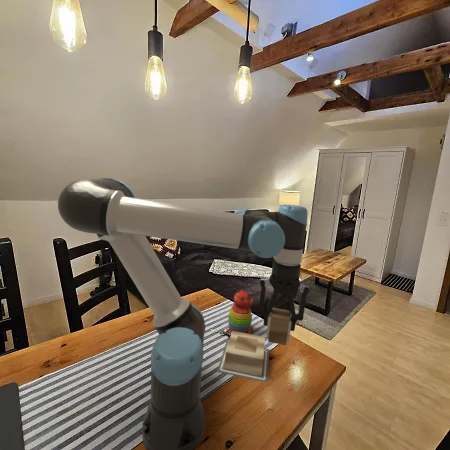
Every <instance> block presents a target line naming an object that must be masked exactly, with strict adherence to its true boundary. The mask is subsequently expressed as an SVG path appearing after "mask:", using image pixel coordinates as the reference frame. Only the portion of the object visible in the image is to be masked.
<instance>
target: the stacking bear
mask: <svg viewBox="0 0 450 450" xmlns="http://www.w3.org/2000/svg"><path fill="white" fill-rule="evenodd" d="M253 302H254V301H253V298H252V297H251V296H250V294H249V293H247V291H244V290H243V289H240V291H238V292H236V293H235V294H234V297H233V305H232V306H231V308H230V310H229V313H228V318H227V320H228V326H229V327H228V329H227V333H228V332H229V333H230V334H231V333H232V331H236V332H242V333H247V334H251V333H253V331H254V328H253V326H252V322H253V316H252V310H251V306H252V304H253Z"/></svg>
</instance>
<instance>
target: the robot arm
mask: <svg viewBox="0 0 450 450" xmlns="http://www.w3.org/2000/svg"><path fill="white" fill-rule="evenodd" d="M57 200H58V201H57V209H58V213H59V215H60V217H61V219H62V220H63V222H64V223H66V225H68V226H69V227H70V228H72V229H74V230H77V231H79V232H82V233H87V234H94V235H95V234H96V235H97V237H98V238H99V240H103V241H105V242H106V241H107V242H108V243H109V244H110V246H111V247H112V249H113V251H114V253H115V255H116V256H117V257H118V258H119V261H120V262H121V263H122V266H123V267H124V269H125V270H126V272H127V273H128V275H129V277H130V278H131V280H132V281H133V283H134V285H135V286H136V288H137V290H138V292H139V294H141V296H142V298H143V300H144V301H145V303H146V305H147V306H148V307H149V309H150V311H151V312H152V314H153V315H154V316H153V320H152V326H153V327H154V328H155V331H156V332H157V334H158V336H157V338H156V339H155V341H154V342H153V345H152V350H151V353H150V369H151V370H150V402H149V404H148V406H147V409H146V411H145V414H144V415H143V416H144V417H143V419H142V420H143V421H142V428H141V429H142V433H141V434H142V440H143V443H144V445H145V448H146V449H147V450H196V448H197V447H199V445H200V443H201V441H202V439H203V438H204V436H205V431H206V412H205V409H204V407H203V403H202V400H201V386H202V385H201V383H202V369H203V368H202V367H203V360H204V342H205V334H206V322H205V316H204V315H203V312H202V311H201V309H200V308H199V307H197V306H196V305H194V304H192V303H191V301H190V300H189V299H188V298H184V297H182V296H181V295H180V293H179V291H178V290H177V288H176V286H175V284H174V283H173V281H172V279H171V278H170V276H169V274H168V273H167V271H166V269H165V268H164V265H163V264H162V263H161V261H160V259H159V257H158V255H157V253H156V252H155V250H154V249H153V247H152V245H151V243H150V242H149V239H148V238H147V237H150V238H151V237H152V238H158V239H166V240H172V241H179V242H187V243H195V244H201V245H209V246H215V247H221V248H229V249H235V250H237V249H238V250H242V251H249V252H251V253H252V254H254V255H256V256H257V257H260V258H261V259H262V258H263V259H271V258H273V261H272V266H271V267H272V269H271V274H270V276H269V277H266V278H264V277H261V278H260V280H259V284H260V295H259V303H258V304H259V305H258V313H259V314H262V315H264V316H263V326H265V327H266V333H265V339H268V338H269V330H270V321H271V313H272V308H273V306H274V304H275V301H276V299H277V297H278V295H281V294H283V295H285V296H287V297H288V303H289V313H290V316H289V318H290V320H289V327H288V334H287V342H286V343H289V342H290V336H291V332H295V329H296V323H297V321H300V322H302V321H303V320H304V316H305V308H306V298H307V295H308V294H309V292H310V287H309V284H304V283H301V280H300V274H301V270H302V269H301V268H302V267H301V263H302V260H303V254H304V253H303V252H304V245H305V236H306V232H307V227H308V215H309V213H308V209H307V208H306V207H305V206H302V205H296V204H295V205H294V204H281V205H279V207H278V208H279V209H278V210H277V211H267V210H266V211H265V210H256V209H255V210H254V209H248V208H247V209H236V210H235V211H233V212H227V211H220V210H216V209H215V210H214V209H208V208H203V207H195V206H189V205H184V204H183V205H182V204H175V203H169V202H162V201H157V200H151V199H149V200H148V199H144V198H139V197H138V198H137V197H135V195H134V192H133V190H132V189H131V188H130V187H129V186H128V185H127V184H126V183H124V182H123V181H120V180H118V179H115V178H110V177H102V178H101V177H100V178H83V179H77V180H75V181H73V182H70V183H68V185H66V186H65V187H64V188H63V189H62V191H61V192H60V194H59V197H58V199H57ZM269 284H270V286H271V287H272V288H273V290H272V293H271V295H270V298H269V300H268V303H267V304H266V307H265V299H266V290H267V287H268V286H269ZM298 288H299V291H300V297H299V298H300V299H299V305H298V313H297V312H296V308H295V307H296V306H295V300H294V292H295V291H296V290H297V289H298Z"/></svg>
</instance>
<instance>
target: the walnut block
mask: <svg viewBox="0 0 450 450" xmlns="http://www.w3.org/2000/svg"><path fill="white" fill-rule="evenodd" d="M270 313H271V321H270V330H269V338H267V340H268V341H267V342H268V343H272V344H277V345H282V346H287V343H288V342H287V334H288V327H289V320H290V318H289V317H290V310H288V309H282V308H276V307H272V309H271V312H270Z"/></svg>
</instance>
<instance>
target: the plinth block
mask: <svg viewBox="0 0 450 450" xmlns="http://www.w3.org/2000/svg"><path fill="white" fill-rule="evenodd" d="M228 341H229V343H228V346H227V349H226V354H225V366H224V369H229V370H234V371H238V372H243V373H248V374H252V375H257V376H262V367H263V358H264V348H265V343H266V336H262V335H257V334H251V333H250V334H247V333H242V332H236V331H232V333H231V336H230V335H229V339H228Z"/></svg>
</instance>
